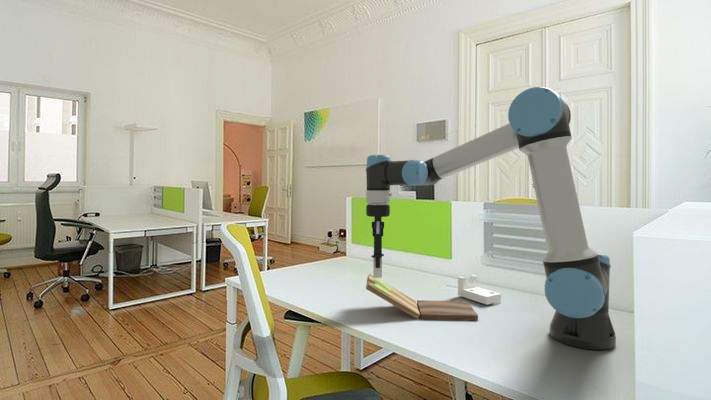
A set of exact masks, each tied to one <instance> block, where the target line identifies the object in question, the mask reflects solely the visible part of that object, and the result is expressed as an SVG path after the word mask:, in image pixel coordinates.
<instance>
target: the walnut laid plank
mask: <svg viewBox="0 0 711 400" xmlns="http://www.w3.org/2000/svg"><path fill="white" fill-rule="evenodd" d="M416 304H417V307H418V310H419V314H420V316H419V317H420V319H421V320H436V321H437V320H439V321H440V320H441V321H442V320H443V321H479V315H478V314H477V313H478V312H476V311H475V309H474V308H473V307H472V305H471V304H470V302H469V301H468V300H467V301H466V300H463V301H462V300H426V299H425V300H424V299H423V300H421V299H418V300H416Z"/></svg>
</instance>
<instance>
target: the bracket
mask: <svg viewBox="0 0 711 400" xmlns="http://www.w3.org/2000/svg"><path fill="white" fill-rule="evenodd" d="M457 296H460V297H463V298H466V299H469V300H471V301H475V302H477V303H481V304H483V305H493V306H496V305H499V304H501V303H502V293H501V292H500V293H499V292H497V291H492V290H490V289H485V288H482V287H478V275H475V274H469V278H468V280H466V277H463V276H457ZM495 304H496V305H495Z"/></svg>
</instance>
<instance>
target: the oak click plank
mask: <svg viewBox="0 0 711 400" xmlns="http://www.w3.org/2000/svg"><path fill="white" fill-rule="evenodd" d="M365 290H367V291H369V292H370V293H372V294H374V295H376V296H377V297H379V298H381V299H382V300H384V301H386V302H387V303H389V304H391V305H393V306H394V307H396V308H397V309H399V310H401V311H403V312H404V313H406V314H407V315H409V316H411V317H413V318H415V319H417V320H418V319H419V317H421V316H420V313H419V310H418V307H417V300H415V299H414V298H412V297H410V296H408V295H406V294H405V293H403V292H401V291H399V290H398V289H396V288H394V287H392V286H391V285H389V284H387V283H386V282H384V281H382V280H381V279H380V278H373V274H370V273H369V274H368V276H367V278H366V285H365Z"/></svg>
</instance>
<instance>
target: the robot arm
mask: <svg viewBox="0 0 711 400" xmlns="http://www.w3.org/2000/svg"><path fill="white" fill-rule="evenodd" d="M507 120H508V122H509V123H507V124H504V125H503V126H500V127H498V128H496V129H494V130H491V131H489V132H486V133H484V134H483V135H480V136H478V137H476V138H474V139H471V140H469V141H467V142H465V143H462V144H460V145H458V146H456V147H454V148H451V149H449V150H446V151H445V152H443V153H440V154H438V155H435V156H433V157H431V158H429V159H426V160H424V161H423V160H417V159H409V160H391V156H390V155H387V154H371V155H368V156H367V158H366V168H365V170H366V171H365V173H366V177H365V178H366V191H365V202H366V206H365V207H366V208H365V213H366V214H365V215H366V216H367V217H371V218H372V217H373V218H374V221H371V228H372V236H373V255H371V258H372V259H373V263H372V264H373V265H372V266H373V267H372V268H373V274H372V276H373V278H377V279H382V278H383V268H382V267H383V257H385V255H384V253H383V251H382V249H383V246H382V245H383V243H382V242H383V236H384V228H385V221H382V218H387V217H389V216H390V214H391V205H390V204H389V203H390V199H391V197H392V196H393V194H392V193H390V190H391V186H409V187H417V186H427V187H429V186H433V185H435V184H438V183H439V182H440V181H441V180H442V179H445V178H447V177H449V176H453V175H456V174H457V173H460V172H464V171H466V170H468V169H470V168H473V167H475V166H478V165H481V164H483V163H485V162H488V161H490V160H492V159H495V158H497V157H500V156H503V155H505V154H507V153H510V152H513V151H515V150H517V149H518V150H519V151H520V152H521V153H523V154H525V155H526V156H527V159H528V163H529V170H530V173H531V179H532V183H533V187H534V192H535V197H536V202H537V207H538V211H539V216H540V220H541V227H542V231H543V235H544V239H545V240H544V241H545V244H546V249H547V252H546V254H545V255H544V257H543V258H542V265H543V269H544V273H545V281H544V295H545V298H546V300H547V302H548V304H549V306H551V307H552V308H553V309H554V310H555V311H554V314H553V317H552V319H551V322H550V324H549V335H550V337H551V338H553V339H555V340H556V341H557V342H560V343H562V344H565V345H567V346H571V347H574V348H579V349H585V350H593V351H605V350H606V351H607V350H610V349H613V348H615V347H616V346H617V345H616V343H617V335H616V332H615V329H614V326H613V322H612V320H611V317H610V313H609V311H610V310H609V308H610V305H609V304H610V275H611V272H610V271H611V270H610V269H611V267H612V265H611V259H610V257H609V256H608V255H606V254H604V253H598V252H596V251H595V250H593V249H592V248H591V247H590V246H589V244H588V240H587V236H586V235H587V234H586V230H585V226H584V221H583V217H582V213H581V208H580V203H579V198H578V195H577V194H578V193H577V191H576V186H575V181H574V176H573V171H572V167H571V163H570V157H569V153H568V148H567V146H568V145H569V143H570V141H571V140H572V138H573V137H572V133H571V129H570V124H571V120H572V114H571V110H570V107H569V105H568V104H567V102H565V101H564V100H563V99H562V97H561V95H560V94H559V93H558V92H557V91H555V90H554V89H551V88H548V87H545V86H532V87H530V88H529V87H528V88H527V89H525V90H523V91H521V92H520V93H519V94H517V95H516V96H515V98H513V100H512V102H511V103H510V105H509V108H508V113H507Z"/></svg>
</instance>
